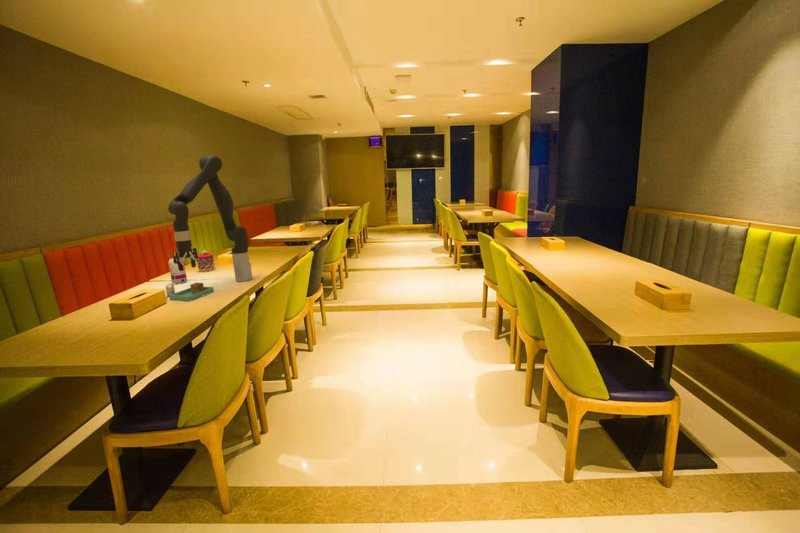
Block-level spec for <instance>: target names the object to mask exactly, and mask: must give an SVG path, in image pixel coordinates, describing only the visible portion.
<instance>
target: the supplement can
mask: <svg viewBox="0 0 800 533" xmlns="http://www.w3.org/2000/svg"><path fill="white" fill-rule="evenodd" d="M176 261H177V260H176ZM180 261H181V260H180ZM182 264H183V271H179V269H178V264H175V263H174V260H173V257H172V258H170V259H169V260H168V267H169V273H170V277H171V278H170V279H171V283H172V284H173V283H175V284H174V285H178V284H177V283H181V284H184V283H183V282H185V283H186V282H188V278H187V273H186V267H185V259H184V260H183V262H182Z"/></svg>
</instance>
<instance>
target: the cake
mask: <svg viewBox="0 0 800 533" xmlns="http://www.w3.org/2000/svg"><path fill="white" fill-rule="evenodd" d="M197 255H198V259H196V262H197V268H198V272H199V273H209V272H213V271H215V263H214V261H215V260H214V256H213V253H211V251H208V250H207V248H204V249H202V248H199V250H198V254H197Z"/></svg>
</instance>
